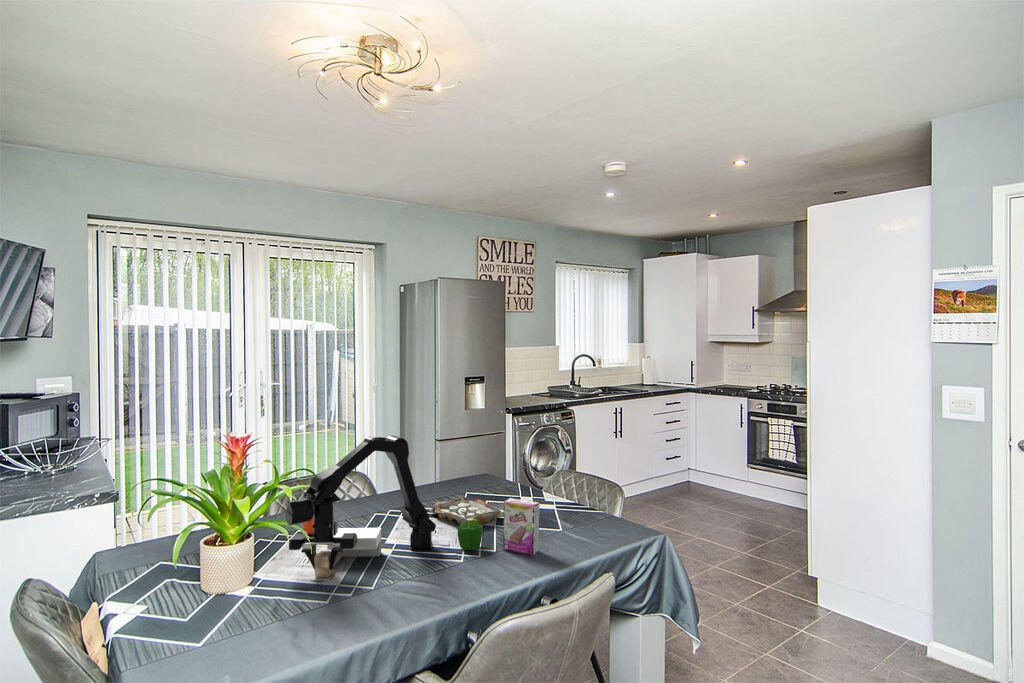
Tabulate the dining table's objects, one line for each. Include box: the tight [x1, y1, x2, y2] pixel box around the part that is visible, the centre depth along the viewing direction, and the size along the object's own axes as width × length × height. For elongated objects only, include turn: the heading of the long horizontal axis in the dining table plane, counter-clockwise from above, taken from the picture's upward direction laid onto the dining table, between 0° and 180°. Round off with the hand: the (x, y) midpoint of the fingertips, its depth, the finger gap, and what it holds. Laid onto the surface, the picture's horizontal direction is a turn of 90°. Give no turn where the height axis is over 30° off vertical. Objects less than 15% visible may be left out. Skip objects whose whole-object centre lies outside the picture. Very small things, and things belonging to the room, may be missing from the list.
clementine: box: [302, 519, 314, 535], centre depth 201 cm, size 8×7×7 cm
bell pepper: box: [457, 519, 484, 551], centre depth 190 cm, size 8×8×10 cm
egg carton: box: [428, 496, 504, 525], centre depth 221 cm, size 30×22×5 cm
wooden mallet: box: [314, 550, 343, 578], centre depth 174 cm, size 4×15×6 cm, turn 175°
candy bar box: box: [502, 497, 540, 556], centre depth 187 cm, size 11×5×16 cm, turn 65°
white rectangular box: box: [326, 527, 382, 558], centre depth 181 cm, size 15×9×8 cm, turn 94°
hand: (323, 569), depth 168 cm, fingers closed on wooden mallet, 4 cm apart
